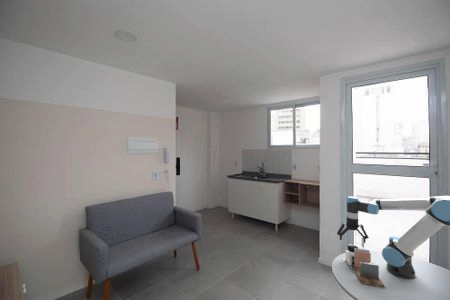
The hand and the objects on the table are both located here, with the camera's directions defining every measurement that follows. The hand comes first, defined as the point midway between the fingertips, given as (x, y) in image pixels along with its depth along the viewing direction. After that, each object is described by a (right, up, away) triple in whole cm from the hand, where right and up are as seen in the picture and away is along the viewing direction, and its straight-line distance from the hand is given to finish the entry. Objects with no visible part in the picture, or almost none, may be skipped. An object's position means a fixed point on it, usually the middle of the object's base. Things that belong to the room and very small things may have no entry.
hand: (352, 245), depth 151 cm
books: (+2, -11, -8) cm, 14 cm away
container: (0, -13, 0) cm, 13 cm away
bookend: (-2, -11, -20) cm, 23 cm away
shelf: (0, -13, -16) cm, 20 cm away
